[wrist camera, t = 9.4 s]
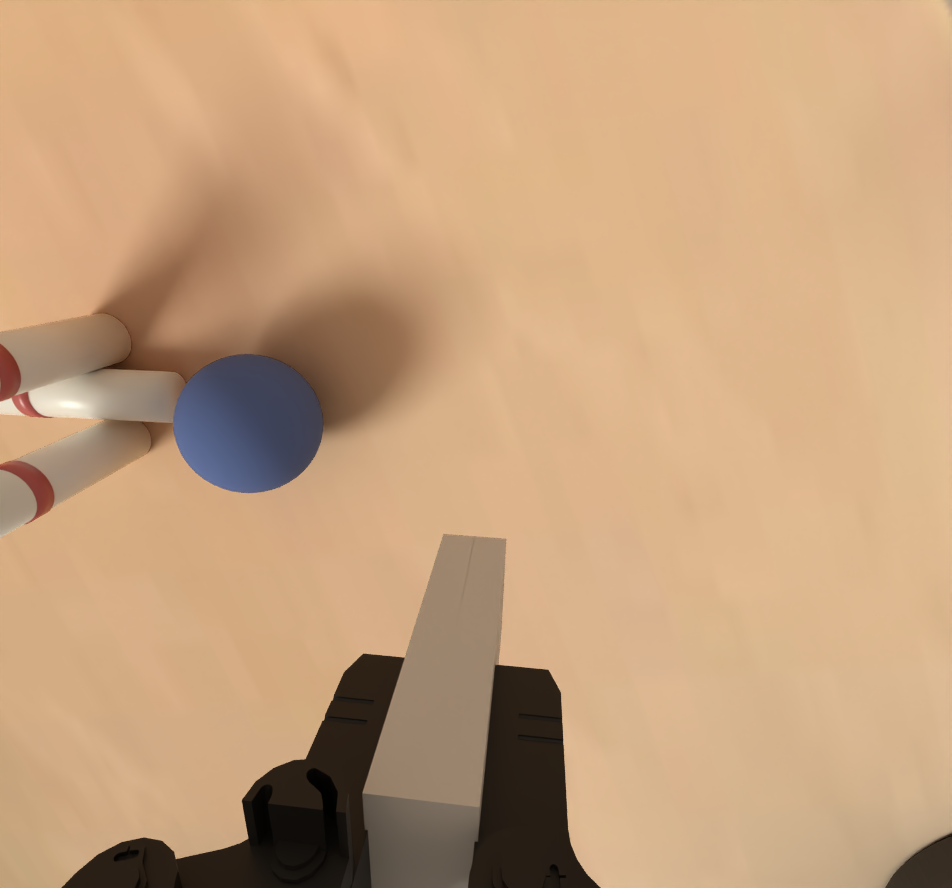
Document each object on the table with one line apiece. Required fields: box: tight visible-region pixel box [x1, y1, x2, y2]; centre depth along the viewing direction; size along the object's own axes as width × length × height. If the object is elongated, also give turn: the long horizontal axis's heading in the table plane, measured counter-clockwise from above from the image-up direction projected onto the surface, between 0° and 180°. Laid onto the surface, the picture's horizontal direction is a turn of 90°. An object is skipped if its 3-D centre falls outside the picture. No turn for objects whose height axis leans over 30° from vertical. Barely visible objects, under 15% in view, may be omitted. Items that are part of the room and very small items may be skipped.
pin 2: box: [0, 420, 151, 538], centre depth 24 cm, size 2×2×8 cm
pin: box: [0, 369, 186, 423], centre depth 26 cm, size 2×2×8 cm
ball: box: [173, 354, 323, 493], centre depth 24 cm, size 6×6×6 cm
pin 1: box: [0, 313, 131, 402], centre depth 22 cm, size 2×2×8 cm
